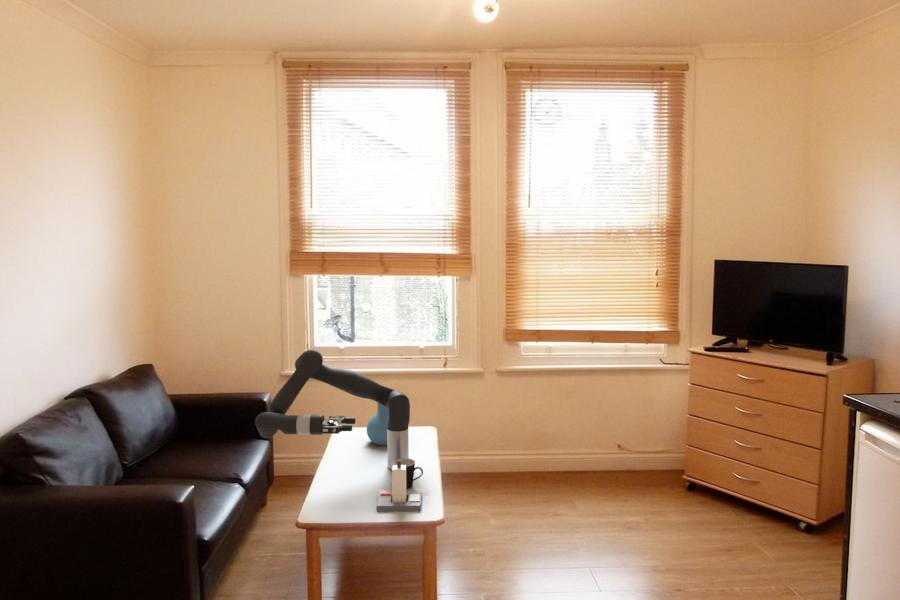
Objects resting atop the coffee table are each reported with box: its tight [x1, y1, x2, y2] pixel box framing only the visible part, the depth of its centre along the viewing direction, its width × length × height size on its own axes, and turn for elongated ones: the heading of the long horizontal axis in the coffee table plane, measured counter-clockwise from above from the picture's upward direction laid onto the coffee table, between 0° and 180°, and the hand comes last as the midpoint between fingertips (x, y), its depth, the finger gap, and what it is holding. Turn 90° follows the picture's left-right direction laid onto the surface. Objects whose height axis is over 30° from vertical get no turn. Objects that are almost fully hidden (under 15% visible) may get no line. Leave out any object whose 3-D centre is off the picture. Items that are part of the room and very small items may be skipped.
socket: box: [376, 490, 422, 512], centre depth 230 cm, size 12×16×3 cm
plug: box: [391, 460, 407, 503], centre depth 229 cm, size 4×5×16 cm
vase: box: [366, 402, 389, 446], centre depth 297 cm, size 16×16×25 cm
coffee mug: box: [394, 458, 424, 490], centre depth 245 cm, size 12×9×10 cm
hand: (353, 424), depth 230 cm, fingers open, 8 cm apart
